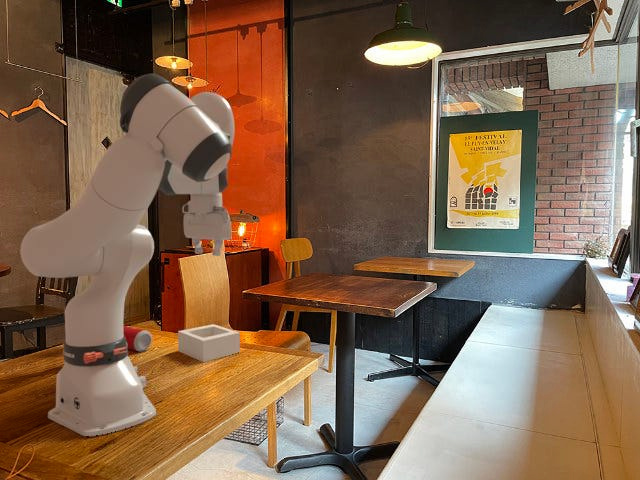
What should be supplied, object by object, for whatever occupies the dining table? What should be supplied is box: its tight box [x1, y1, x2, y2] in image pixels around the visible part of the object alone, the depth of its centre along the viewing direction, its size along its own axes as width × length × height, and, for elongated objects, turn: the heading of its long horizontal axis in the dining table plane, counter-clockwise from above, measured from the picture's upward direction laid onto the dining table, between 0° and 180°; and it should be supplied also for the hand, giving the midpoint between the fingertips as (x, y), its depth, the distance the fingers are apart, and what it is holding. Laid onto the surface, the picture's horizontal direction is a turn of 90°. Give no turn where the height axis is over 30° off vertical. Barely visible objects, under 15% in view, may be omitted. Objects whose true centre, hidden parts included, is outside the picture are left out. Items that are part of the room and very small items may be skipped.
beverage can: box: [123, 325, 153, 353], centre depth 140 cm, size 6×6×12 cm
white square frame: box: [177, 323, 241, 363], centre depth 137 cm, size 14×12×6 cm
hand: (207, 254), depth 135 cm, fingers open, 8 cm apart
